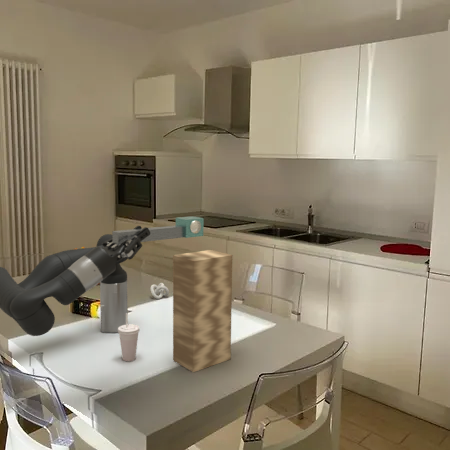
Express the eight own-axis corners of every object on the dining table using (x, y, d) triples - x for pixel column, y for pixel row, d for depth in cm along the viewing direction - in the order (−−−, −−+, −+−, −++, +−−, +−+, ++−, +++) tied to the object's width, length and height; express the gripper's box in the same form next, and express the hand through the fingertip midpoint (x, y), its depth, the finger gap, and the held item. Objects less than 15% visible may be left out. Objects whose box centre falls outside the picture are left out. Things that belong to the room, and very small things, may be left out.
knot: (171, 295, 209) (171, 282, 208) (166, 300, 201) (166, 287, 200) (155, 294, 210) (154, 281, 209) (149, 299, 202) (148, 286, 201)
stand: (193, 372, 134) (194, 261, 130) (173, 360, 142) (173, 255, 137) (230, 359, 143) (232, 255, 139) (209, 348, 151) (210, 249, 146)
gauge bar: (121, 245, 117) (121, 225, 116) (110, 242, 121) (110, 222, 120) (204, 236, 134) (204, 218, 133) (192, 233, 138) (192, 216, 137)
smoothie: (119, 354, 145) (119, 310, 143) (140, 354, 146) (140, 310, 144) (116, 363, 139) (116, 317, 137) (138, 363, 140) (138, 317, 138)
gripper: (97, 262, 109) (153, 220, 117) (71, 252, 119) (125, 214, 128) (112, 287, 112) (165, 244, 120) (86, 275, 122) (137, 237, 131)
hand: (144, 229), depth 124 cm, fingers closed on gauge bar, 3 cm apart
